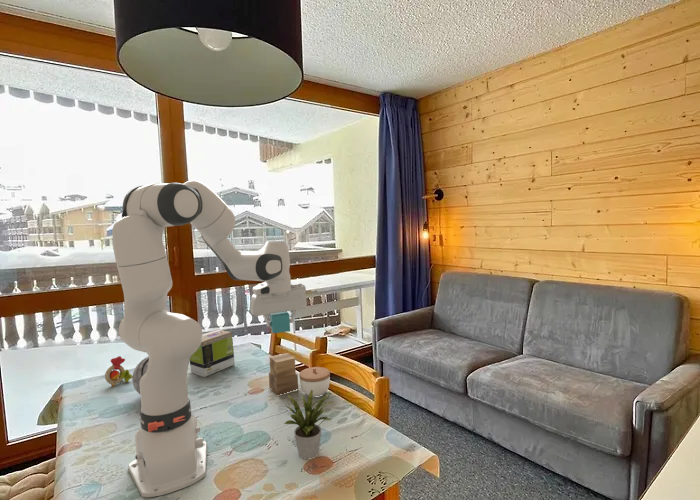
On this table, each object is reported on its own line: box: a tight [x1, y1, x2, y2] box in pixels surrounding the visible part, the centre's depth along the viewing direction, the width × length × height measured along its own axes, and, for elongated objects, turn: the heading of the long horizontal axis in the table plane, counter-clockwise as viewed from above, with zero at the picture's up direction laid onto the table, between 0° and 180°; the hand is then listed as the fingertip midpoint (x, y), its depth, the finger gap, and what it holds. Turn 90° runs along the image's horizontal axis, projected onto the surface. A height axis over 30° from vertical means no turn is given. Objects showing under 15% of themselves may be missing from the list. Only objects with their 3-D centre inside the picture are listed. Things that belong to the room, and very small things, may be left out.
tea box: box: [189, 329, 236, 378], centre depth 163 cm, size 15×10×15 cm
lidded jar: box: [298, 366, 331, 397], centre depth 137 cm, size 11×11×9 cm
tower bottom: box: [268, 371, 299, 396], centre depth 142 cm, size 8×8×6 cm
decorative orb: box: [131, 356, 149, 395], centre depth 140 cm, size 15×14×15 cm
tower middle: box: [269, 352, 297, 379], centre depth 141 cm, size 7×7×6 cm
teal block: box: [269, 311, 291, 334], centre depth 140 cm, size 6×6×6 cm
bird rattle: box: [104, 355, 133, 387], centre depth 152 cm, size 6×11×9 cm
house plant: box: [283, 389, 333, 460], centre depth 101 cm, size 14×14×16 cm
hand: (280, 324), depth 140 cm, fingers closed on teal block, 6 cm apart
